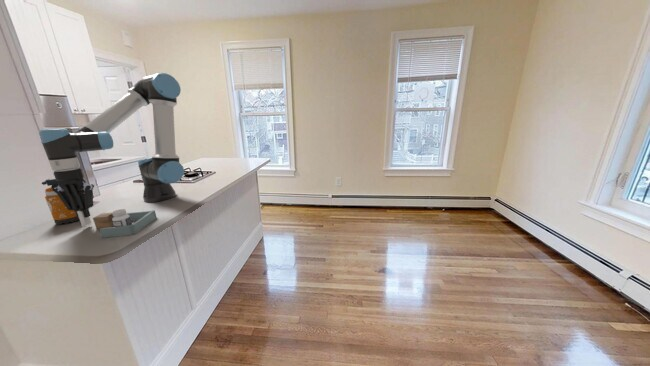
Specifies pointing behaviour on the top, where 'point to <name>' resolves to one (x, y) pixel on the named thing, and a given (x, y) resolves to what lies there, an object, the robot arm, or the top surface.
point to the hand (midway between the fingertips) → (86, 224)
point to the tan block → (103, 220)
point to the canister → (58, 204)
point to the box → (142, 218)
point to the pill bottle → (121, 218)
